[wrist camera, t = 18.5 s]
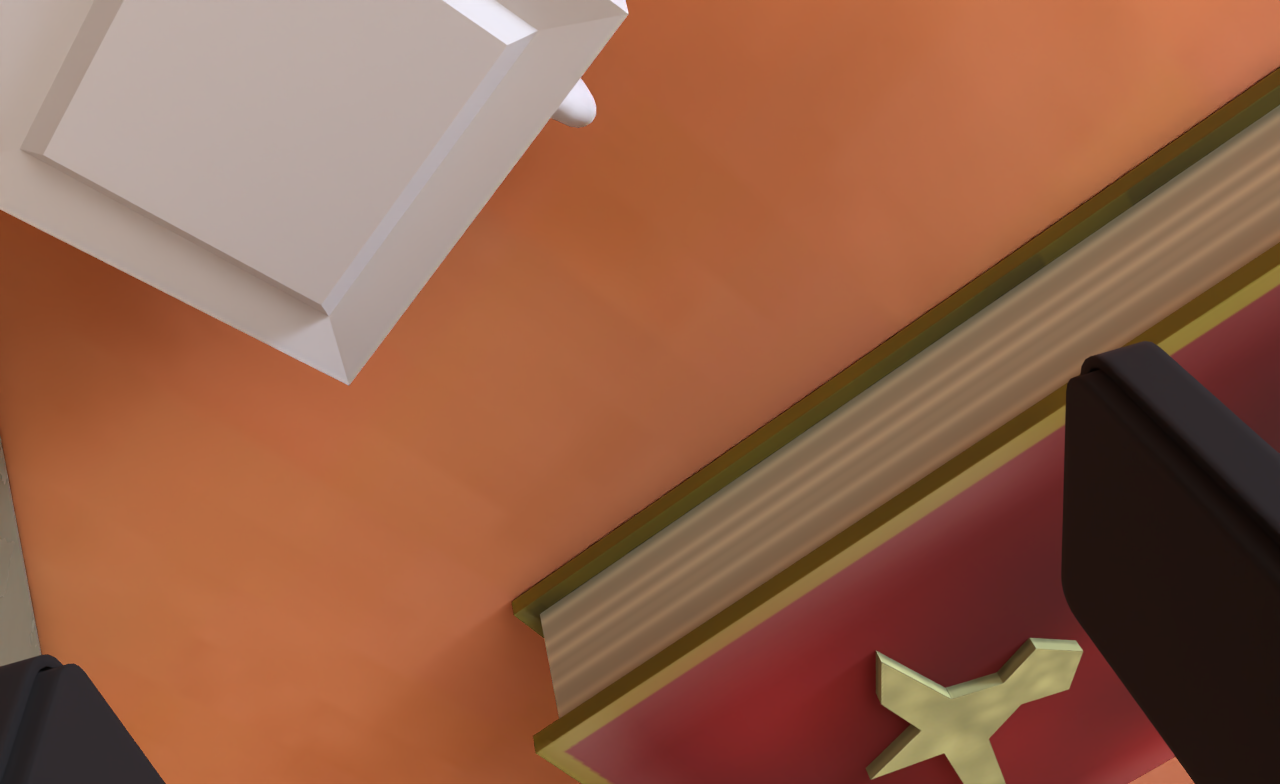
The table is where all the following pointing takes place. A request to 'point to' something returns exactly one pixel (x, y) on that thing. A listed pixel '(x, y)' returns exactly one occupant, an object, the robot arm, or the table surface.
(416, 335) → the table surface
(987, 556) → the hardcover book
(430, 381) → the table surface
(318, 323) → the white square urn
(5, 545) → the green base plate
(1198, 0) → the table surface
